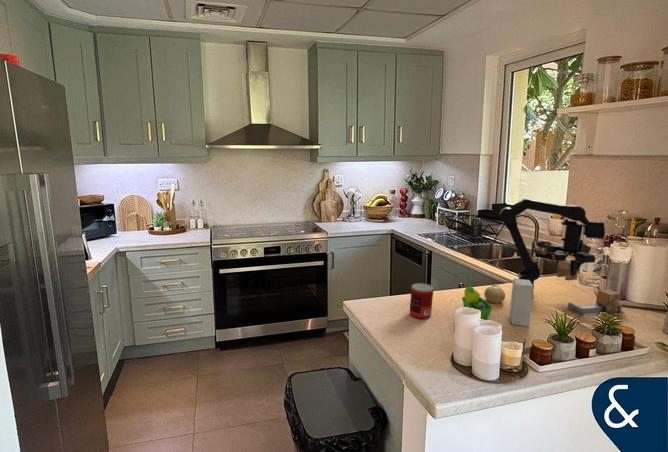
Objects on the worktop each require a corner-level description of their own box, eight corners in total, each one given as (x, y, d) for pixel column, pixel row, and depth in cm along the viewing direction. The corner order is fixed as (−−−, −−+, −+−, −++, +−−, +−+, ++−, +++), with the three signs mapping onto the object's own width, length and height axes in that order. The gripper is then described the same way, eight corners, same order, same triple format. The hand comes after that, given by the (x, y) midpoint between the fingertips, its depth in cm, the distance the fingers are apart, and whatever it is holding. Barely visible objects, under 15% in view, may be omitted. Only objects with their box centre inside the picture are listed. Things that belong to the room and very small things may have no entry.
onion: (508, 303, 165) (510, 286, 163) (496, 306, 160) (498, 289, 159) (491, 296, 171) (492, 280, 170) (479, 300, 167) (481, 283, 165)
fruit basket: (492, 322, 145) (496, 291, 143) (468, 321, 145) (471, 291, 143) (479, 309, 157) (482, 281, 154) (456, 309, 156) (459, 281, 154)
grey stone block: (567, 280, 164) (569, 263, 163) (556, 276, 169) (558, 260, 168) (578, 279, 166) (580, 263, 164) (567, 275, 171) (569, 259, 169)
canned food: (431, 313, 151) (434, 284, 149) (429, 321, 144) (432, 291, 142) (411, 309, 154) (413, 281, 152) (407, 317, 146) (410, 288, 144)
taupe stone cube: (606, 312, 156) (609, 294, 154) (594, 306, 161) (596, 290, 160) (617, 311, 157) (620, 293, 156) (605, 305, 162) (607, 289, 161)
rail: (583, 319, 151) (585, 310, 150) (563, 309, 159) (565, 301, 158) (624, 315, 156) (626, 306, 156) (603, 306, 165) (604, 298, 164)
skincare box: (529, 327, 142) (534, 286, 139) (510, 324, 144) (515, 284, 141) (525, 318, 150) (531, 279, 147) (508, 315, 152) (512, 277, 149)
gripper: (609, 241, 158) (602, 279, 160) (569, 231, 175) (564, 266, 178) (586, 241, 154) (580, 281, 157) (548, 232, 172) (543, 267, 175)
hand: (567, 273), depth 167 cm, fingers closed on grey stone block, 5 cm apart
